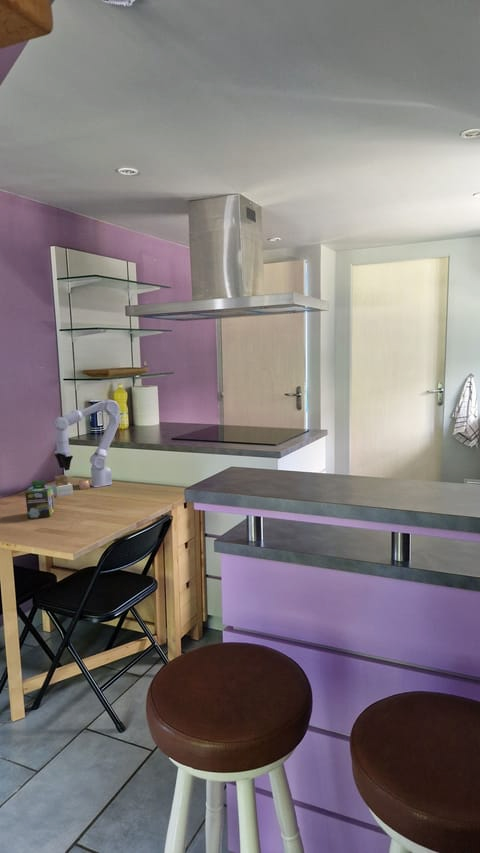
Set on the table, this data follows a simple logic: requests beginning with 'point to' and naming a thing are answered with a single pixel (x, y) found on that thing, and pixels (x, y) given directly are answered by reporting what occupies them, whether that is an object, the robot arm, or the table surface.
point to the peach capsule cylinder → (84, 484)
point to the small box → (62, 490)
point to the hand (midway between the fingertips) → (64, 468)
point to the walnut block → (61, 480)
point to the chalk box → (40, 500)
